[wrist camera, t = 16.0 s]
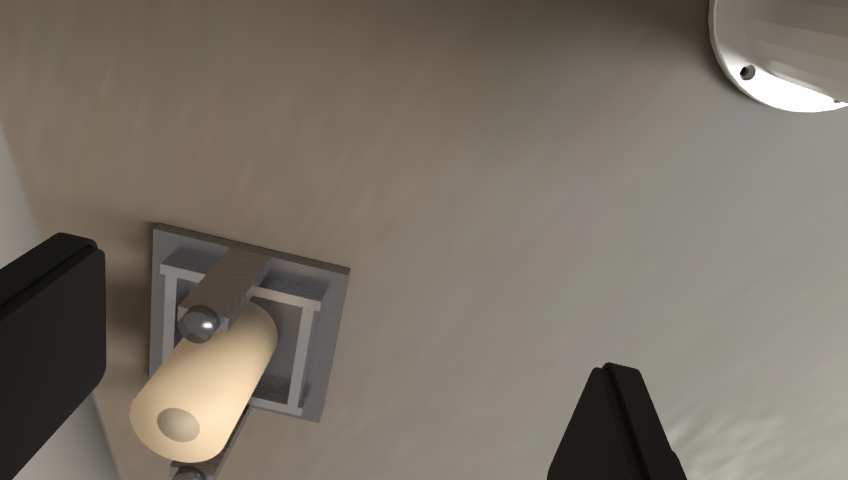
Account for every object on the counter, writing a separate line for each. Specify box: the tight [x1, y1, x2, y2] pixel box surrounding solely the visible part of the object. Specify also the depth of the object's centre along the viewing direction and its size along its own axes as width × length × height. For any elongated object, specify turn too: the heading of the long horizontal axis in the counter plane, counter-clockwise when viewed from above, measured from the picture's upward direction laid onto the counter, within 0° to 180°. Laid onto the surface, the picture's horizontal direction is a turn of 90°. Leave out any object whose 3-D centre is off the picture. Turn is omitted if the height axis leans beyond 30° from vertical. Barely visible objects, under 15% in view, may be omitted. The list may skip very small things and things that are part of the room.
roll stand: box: [149, 223, 350, 480], centre depth 41 cm, size 14×15×10 cm
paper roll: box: [130, 301, 278, 463], centre depth 40 cm, size 6×6×10 cm
